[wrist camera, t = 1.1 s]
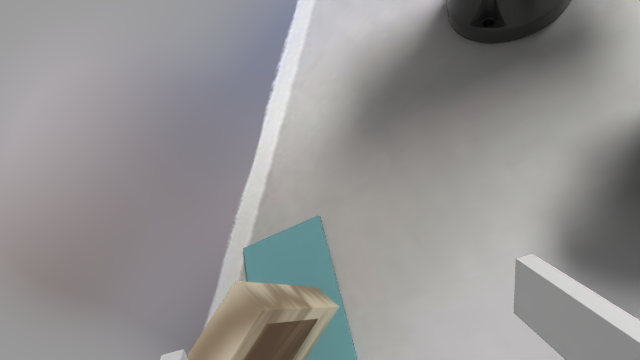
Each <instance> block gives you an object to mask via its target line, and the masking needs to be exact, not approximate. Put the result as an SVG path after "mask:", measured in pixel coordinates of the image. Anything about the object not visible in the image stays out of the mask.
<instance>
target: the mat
mask: <svg viewBox="0 0 640 360" xmlns="http://www.w3.org/2000/svg"><path fill="white" fill-rule="evenodd" d="M243 250H244V257H245V265H246V273H247V281H248V282H258V283H271V284H284V285H298V286H311V287H318V288H319V289H320V290H321V291H322V292H324V293H325V294H326V295H327V296H328V297H329V298H330V299H331V300H332V301H334V302H335V303H336V304H337V305H338V306H339V309H338V310H337V312H336V313H335V315H334V316H333V318H332V320H331V321H330V323H329V324H328V326H327V328H326V329H325V331H324V332H323V334H322V335H321V337H320V339H319V340H318V342H317V343H316V345H315V346H314V348H313V350H312V351H311V353H310V354H309V356H308V357H307V359H306V360H357V356H356V352H355V348H354V344H353V340H352V337H351V333H350V329H349V325H348V321H347V317H346V314H345V310H344V306H343V302H342V298H341V294H340V291H339V287H338V283H337V279H336V275H335V271H334V267H333V264H332V260H331V256H330V252H329V248H328V244H327V241H326V237H325V233H324V229H323V225H322V221H321V218H320V216H317V217H314V218H312V219H310V220H308V221H305V222H303V223H301V224H298V225H296V226H294V227H291V228H289V229H287V230H285V231H282V232H280V233H278V234H275V235H273V236H271V237H268V238H266V239H264V240H262V241H259V242H257V243H255V244H252V245H250V246H248V247H245V248H243Z"/></svg>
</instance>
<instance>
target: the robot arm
mask: <svg viewBox="0 0 640 360" xmlns="http://www.w3.org/2000/svg"><path fill="white" fill-rule="evenodd" d="M570 2H571V0H447V10H448V17H449V21H450V23H451V25H452V27H453V28H454V29H455V31H456V32H458V33H459V34H460V35H462V36H463V37H465V38H467V39H470V40H473V41H477V42H484V43H498V42H506V41H511V40H515V39H519V38H522V37H525V36H527V35H530V34H532V33H534V32H536V31H538V30H540V29H542V28H544V27H545V26H547V25H548V24H550V23H551V22H552V21H554V20H555V19H556V18H557V17H558V16H559V15H560V14H561V13H562V12H563V11H564V10H565V9H566V8H567V6H568V5H569V3H570ZM514 314H515V315H517V316H518V317H519V318H520V319H521V320H522V321H523V322H524V323H525V324H527V325H528V326H529V327H530V328H531V329H532V330H533V331H534V332H535V333H537V334H538V335H539V336H540V337H541V338H542V339H543V340H544V341H545V342H547V343H548V344H549V345H550V346H551V347H552V348H553V349H554V350H555V351H557V352H558V353H559V354H560V355H561V356H562V357H563V358H564V359H565V360H640V320H638V319H637V318H635V317H633V316H632V315H630V314H629V313H627V312H625V311H624V310H622V309H621V308H619V307H617V306H616V305H614V304H613V303H611V302H609V301H608V300H606V299H604V298H603V297H601V296H600V295H598V294H596V293H595V292H593V291H592V290H590V289H588V288H587V287H585V286H584V285H582V284H580V283H579V282H577V281H576V280H574V279H572V278H571V277H569V276H567V275H566V274H564V273H563V272H561V271H559V270H558V269H556V268H555V267H553V266H551V265H550V264H548V263H547V262H545V261H543V260H542V259H540V258H538V257H537V256H535V255H534V254H530V255H527V256H523V257H520V258H516V267H515V293H514ZM160 360H188V358H187V356H186V353H185V351H184V349H183V350H179V351H175V352H172V353H168V354H164V355H162V356H161V358H160Z"/></svg>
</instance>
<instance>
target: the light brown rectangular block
mask: <svg viewBox="0 0 640 360" xmlns="http://www.w3.org/2000/svg"><path fill="white" fill-rule="evenodd" d="M338 309H339V306H338V305H337V304H336V303H335V302H334V301H332V300H331V299H330V298H329V297H328V296H327V295H326V294H325V293H324V292H322V291H321V290H320V289H319V288H318V287H311V286H298V285H284V284H271V283H258V282H245V281H235V283H234V284H233V286H232V287H231V289H230V290H229V292H228V294H227V295H226V297H225V298H224V300H223V301H222V303H221V304H220V306H219V307H218V309H217V311H216V312H215V314H214V315H213V317H212V318H211V320H210V321H209V323H208V324H207V326H206V328H205V329H204V331H203V332H202V334H201V335H200V337H199V338H198V340H197V341H196V343H195V345H194V346H193V348H192V349H191V351H190V352H189V354H188V356H187V358H188V360H306V359H307V357H308V356H309V354H310V353H311V351H312V350H313V348H314V346H315V345H316V343H317V342H318V340H319V339H320V337H321V335H322V334H323V332H324V331H325V329H326V328H327V326H328V324H329V323H330V321H331V320H332V318H333V316H334V315H335V313H336V312H337V310H338Z"/></svg>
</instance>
